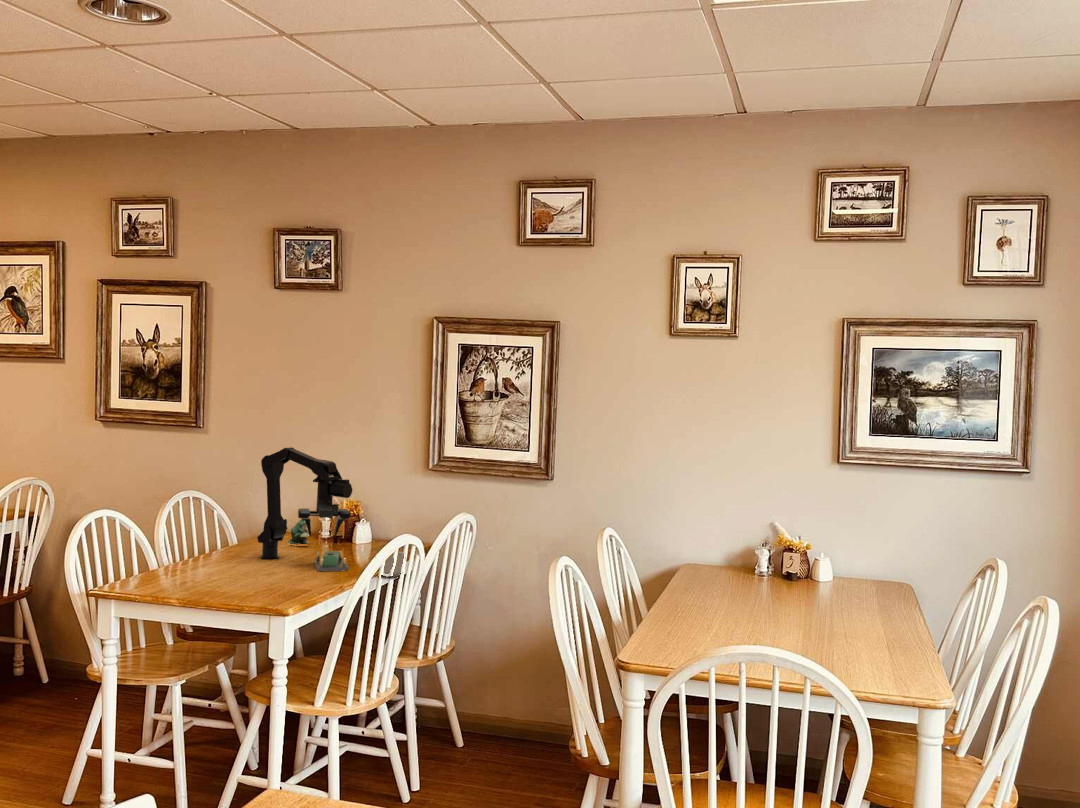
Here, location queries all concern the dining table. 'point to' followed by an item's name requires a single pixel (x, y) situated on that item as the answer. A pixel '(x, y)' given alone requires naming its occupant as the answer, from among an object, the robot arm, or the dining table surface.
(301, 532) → the frog figurine
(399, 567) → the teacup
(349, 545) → the dining table surface
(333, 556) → the board
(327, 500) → the robot arm
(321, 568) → the chassis
